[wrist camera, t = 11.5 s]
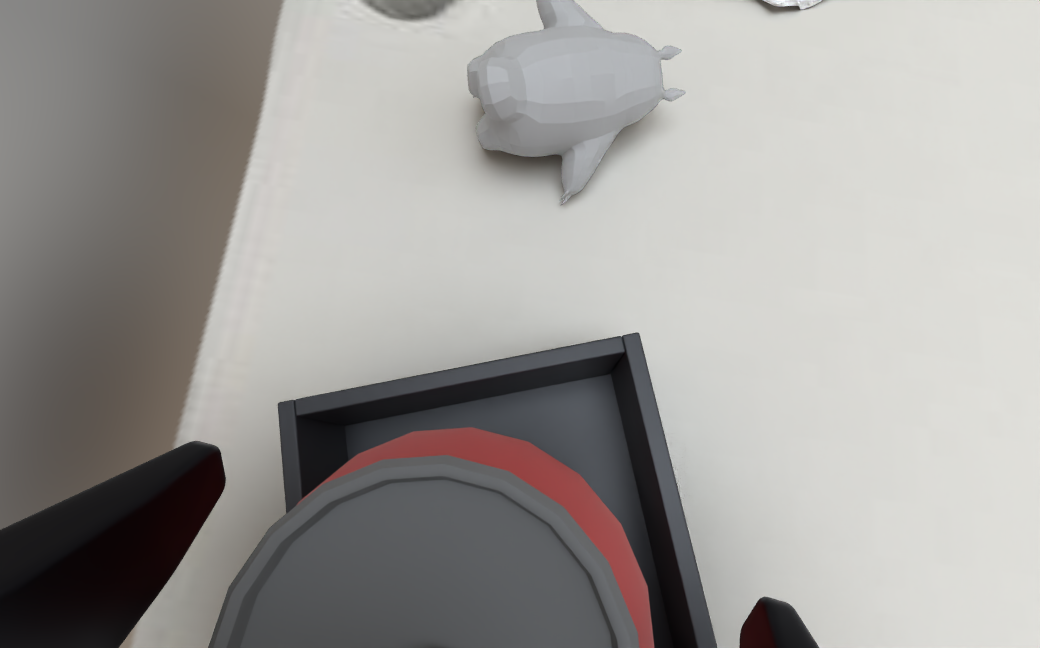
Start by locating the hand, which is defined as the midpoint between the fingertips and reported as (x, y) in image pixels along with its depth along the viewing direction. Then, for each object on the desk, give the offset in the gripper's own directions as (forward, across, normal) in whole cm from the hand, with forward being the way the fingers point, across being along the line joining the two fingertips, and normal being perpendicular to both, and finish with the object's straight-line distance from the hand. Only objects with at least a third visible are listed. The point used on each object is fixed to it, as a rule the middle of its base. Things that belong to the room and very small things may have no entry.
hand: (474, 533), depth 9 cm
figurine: (+14, +5, -4) cm, 15 cm away
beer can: (+6, 0, +8) cm, 10 cm away
